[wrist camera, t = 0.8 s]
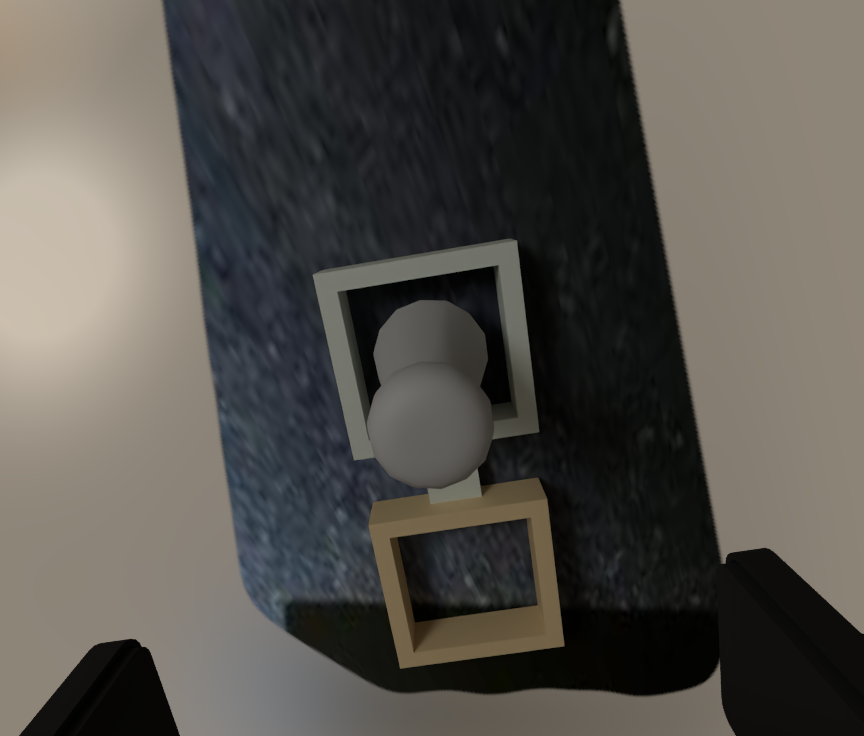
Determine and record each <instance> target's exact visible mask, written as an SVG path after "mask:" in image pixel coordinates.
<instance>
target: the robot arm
mask: <svg viewBox="0 0 864 736" xmlns="http://www.w3.org/2000/svg"><path fill="white" fill-rule="evenodd" d="M717 594H718V620H719V646H720V670H721V695H722V696H721V697H722V705H723V709H724V712H725V715H726V718H727V720H728V722H729V724H730V726H731V728H732V730H733V731H734V733H735V735H736V736H864V634H862V633H860V632H859V631H858V630H857V629H856V628H855V627H854V626H853V625H851V623H849V622H848V621H847V620H846V619H845V618H844V617H843V616H842V615H841V614H840V613H839V612H838V611H837V610H835V609H834V608H833V607H832V606H831V605H830V604H829V603H828V602H827V601H826V600H825V599H824V598H822V596H820V595H819V594H818V593H817V592H816V591H815V590H814V589H813V588H812V587H811V586H810V585H809V584H808V583H806V582H805V581H804V580H803V579H802V578H801V577H800V576H799V575H798V574H797V573H796V572H795V571H794V570H793V569H791V568H790V567H789V566H788V565H787V564H786V563H785V562H784V561H783V560H782V559H781V558H780V557H779V556H778V555H776V554H775V553H774V552H773V551H771V550H770V549H767V548H761V549H754V550H747V551H740V552H733V553H730V554H728V555H727V557H726V564H720V565H718V567H717ZM19 736H180V735H179V732H178V729H177V726H176V723H175V721H174V718H173V715H172V712H171V709H170V706H169V704H168V701H167V698H166V695H165V693H164V689H163V687H162V684H161V681H160V678H159V676H158V672H157V670H156V667H155V664H154V661H153V658H152V655H151V653H150V651H149V649H147V648H146V647H141V645H140V643H139V642H138V641H137V640H135V639H127V640H120V641H113V642H106V643H100V644H97V645H95V646H94V647H93V648H91V649H90V650H89V651H88V653H87V654H86V655H85V656H84V657H83V659H82V660H81V661H80V663H79V664H78V665H77V666H76V667H75V668H74V670H73V671H72V672H71V673H70V674H69V676H68V677H67V678H66V679H65V681H64V682H63V683H62V684H61V686H60V687H59V688H58V689H57V690H56V692H55V693H54V694H53V695H52V696H51V698H50V699H49V700H48V701H47V702H46V704H45V705H44V706H43V707H42V709H41V710H40V711H39V712H38V713H37V715H36V716H35V717H34V718H33V720H32V721H31V722H30V723H29V724H28V726H27V727H26V728H25V729H24V730H23V732H22V733H21V734H20V735H19Z"/></svg>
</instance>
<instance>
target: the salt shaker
mask: <svg viewBox="0 0 864 736" xmlns="http://www.w3.org/2000/svg"><path fill="white" fill-rule="evenodd" d="M373 355H374V359H375V364H376V368H377V373H378V377H379V381H380V383H381V387H380V388H379V389H378V390H377V392H376V393H375V395H374V398H373V401H372V405H371V409H370V412H369V416H368V420H367V429H368V434H369V438H370V442H371V446H372V450H373V454H374V457H375V458H376V459H377V460H378V462H379V463H380V464H381V465H382V467H383V468H384V469H385V470H386V472H387V473H388V474H389V475H390V476H391V477H393V478H395V479H397V480H399V481H401V482H404V483H406V484H408V485H410V486H412V487H414V488H431V489H443V488H446V487H448V486H451V485H453V484H456V483H458V482H461V481H463V480H466V479H467V478H468V477H469V476H470V475H471V474H472V473H473V472H474V471H475V470H476V469H477V468H478V467H479V466H480V465H481V464H482V463H483V462H484V461H485V460H486V457H487V454H488V451H489V448H490V445H491V441H492V438H493V434H494V422H493V415H492V409H491V402H490V400H489V398H488V397H487V395H486V394H485V393H484V391H483V390H482V389H481V387H480V385H481V381H482V378H483V375H484V371H485V368H486V364H487V361H488V354H487V347H486V339H485V334H484V332H483V331H482V330H481V328H480V327H479V326H478V324H477V323H476V322H475V320H474V319H473V318H472V316H471V315H470V314H469V313H467V312H466V311H464V310H462V309H460V308H459V307H457V306H455V305H453V304H452V303H450V302H448V301H436V300H419V301H417V302H415V303H412V304H410V305H407V306H405V307H402V308H400V309H397V310H396V311H395V312H394V313H393V314H392V316H391V317H390V318H389V319H388V320H387V322H386V323H385V324H384V325H383V326H382V327H381V329H380V330H379V334H378V338H377V342H376V345H375V349H374V353H373Z"/></svg>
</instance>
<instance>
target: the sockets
mask: <svg viewBox="0 0 864 736" xmlns="http://www.w3.org/2000/svg"><path fill="white" fill-rule="evenodd" d="M490 266H494V273H495V281H496V288H497V296H498V304H499V311H500V319H501V327H502V334H503V342H504V350H505V357H506V365H507V373H508V380H509V388H510V396H511V402H507V403H500V404H494V405H491V409H492V415H493V422H494V434H493V438H492V439H498V438H504V437H511V436H517V435H524V434H530V433H537V432H539V425H538V417H537V408H536V400H535V391H534V383H533V374H532V365H531V357H530V348H529V340H528V331H527V323H526V314H525V306H524V297H523V289H522V280H521V272H520V263H519V255H518V246H517V241H516V240H512V239H505V240H499V241H493V242H487V243H481V244H475V245H469V246H463V247H457V248H451V249H445V250H439V251H433V252H427V253H421V254H415V255H409V256H404V257H398V258H392V259H386V260H380V261H374V262H368V263H362V264H356V265H350V266H344V267H338V268H332V269H326V270H322V271H320V272H318V273H316V274H313V278H314V282H315V287H316V291H317V296H318V300H319V305H320V309H321V314H322V318H323V323H324V327H325V332H326V336H327V341H328V345H329V350H330V354H331V359H332V363H333V368H334V372H335V377H336V381H337V386H338V390H339V395H340V399H341V404H342V408H343V413H344V417H345V422H346V426H347V431H348V435H349V440H350V444H351V449H352V453H353V458H354V460H360V459H366V458H373V457H374V454H373V450H372V446H371V442H370V438H369V434H368V429H367V420H368V416H369V412H370V409H371V408H370V403H369V399H368V394H367V389H366V384H365V379H364V375H363V370H362V365H361V360H360V355H359V350H358V346H357V341H356V336H355V331H354V326H353V321H352V317H351V312H350V307H349V302H348V297H347V293H346V290H351V289H357V288H363V287H369V286H375V285H381V284H387V283H393V282H399V281H405V280H411V279H417V278H423V277H429V276H435V275H441V274H447V273H453V272H460V271H466V270H472V269H478V268H484V267H490ZM428 493H429V494H424V495H418V496H411V497H404V498H398V499H391V500H384V501H378V502H373V505H372V510H371V515H370V520H369V530H370V534H371V539H372V543H373V548H374V552H375V557H376V561H377V566H378V570H379V575H380V579H381V584H382V588H383V593H384V597H385V602H386V606H387V611H388V615H389V620H390V624H391V629H392V633H393V638H394V642H395V646H396V651H397V655H398V660H399V664H400V668H407V667H415V666H422V665H429V664H437V663H444V662H452V661H459V660H466V659H474V658H481V657H488V656H496V655H503V654H510V653H518V652H525V651H532V650H540V649H547V648H554V647H562V646H564V638H563V630H562V621H561V613H560V604H559V596H558V587H557V579H556V570H555V562H554V553H553V545H552V536H551V528H550V519H549V510H548V502H547V497H546V495H545V493H544V490H543V488H542V485H541V483H540V481H539V478H532V479H525V480H518V481H512V482H505V483H498V484H492V485H485V486H480V481H479V475H478V468H477V469H476V470H475V471H474V472H473V473H472V474H471V475H470V476H469V477H468V478H467V479H466V480H463V481H461V482H458V483H456V484H453V485H451V486H448V487H446V488H443V489H431V488H428ZM524 518H527V526H528V534H529V541H530V549H531V557H532V564H533V572H534V580H535V587H536V595H537V603H538V605H537V606H530V607H523V608H516V609H509V610H501V611H494V612H487V613H480V614H473V615H466V616H458V617H451V618H444V619H437V620H430V621H422V622H415V621H414V616H413V611H412V606H411V601H410V596H409V592H408V587H407V582H406V577H405V572H404V567H403V563H402V558H401V553H400V548H399V543H398V539H397V537H401V536H407V535H414V534H421V533H428V532H435V531H442V530H449V529H455V528H462V527H469V526H476V525H483V524H490V523H496V522H503V521H510V520H517V519H524Z"/></svg>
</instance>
